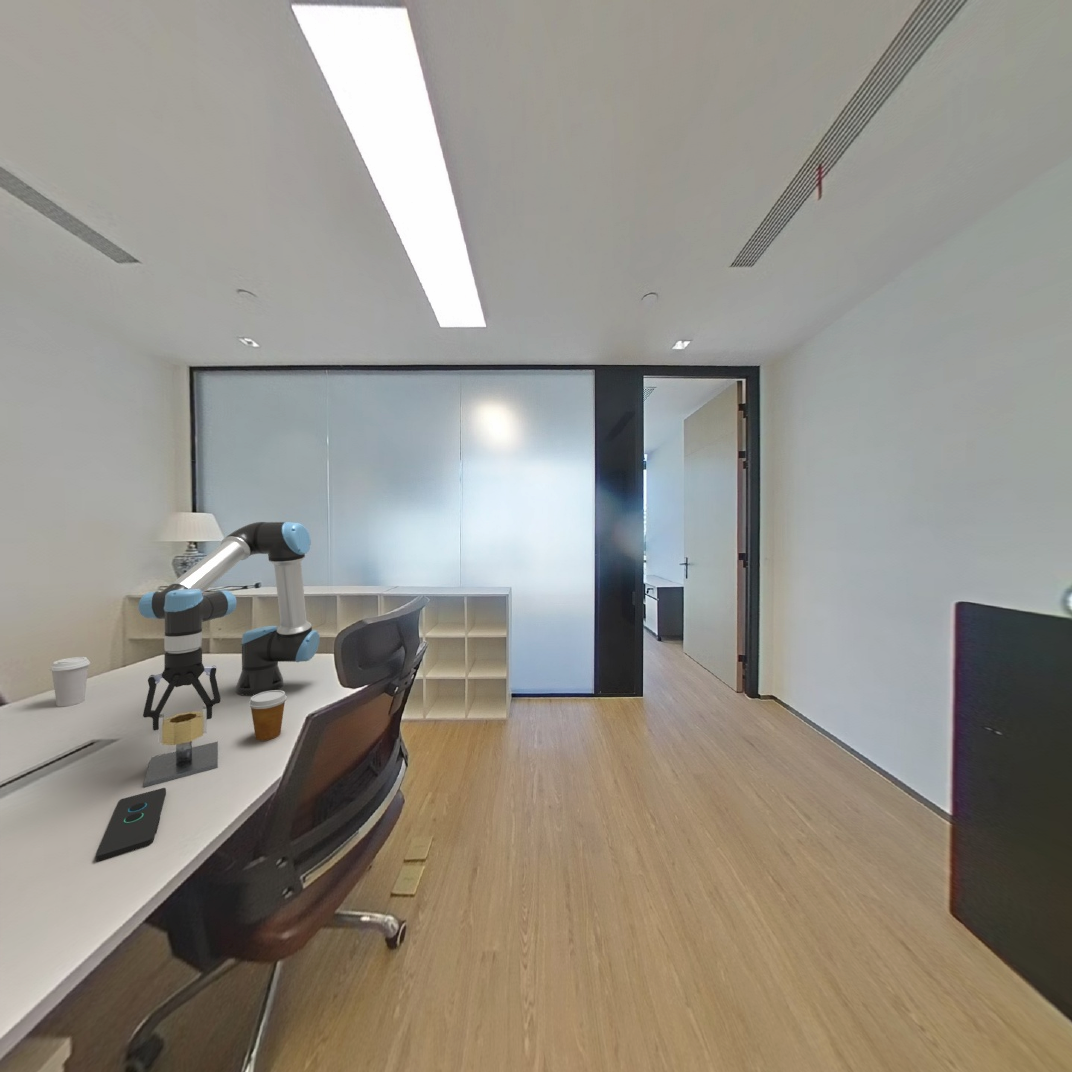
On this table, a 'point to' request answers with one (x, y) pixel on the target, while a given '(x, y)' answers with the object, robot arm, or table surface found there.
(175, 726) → the ring
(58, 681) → the coffee cup
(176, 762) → the metal peg stand
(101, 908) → the table surface
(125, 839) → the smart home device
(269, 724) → the disposable coffee cup
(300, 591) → the robot arm
